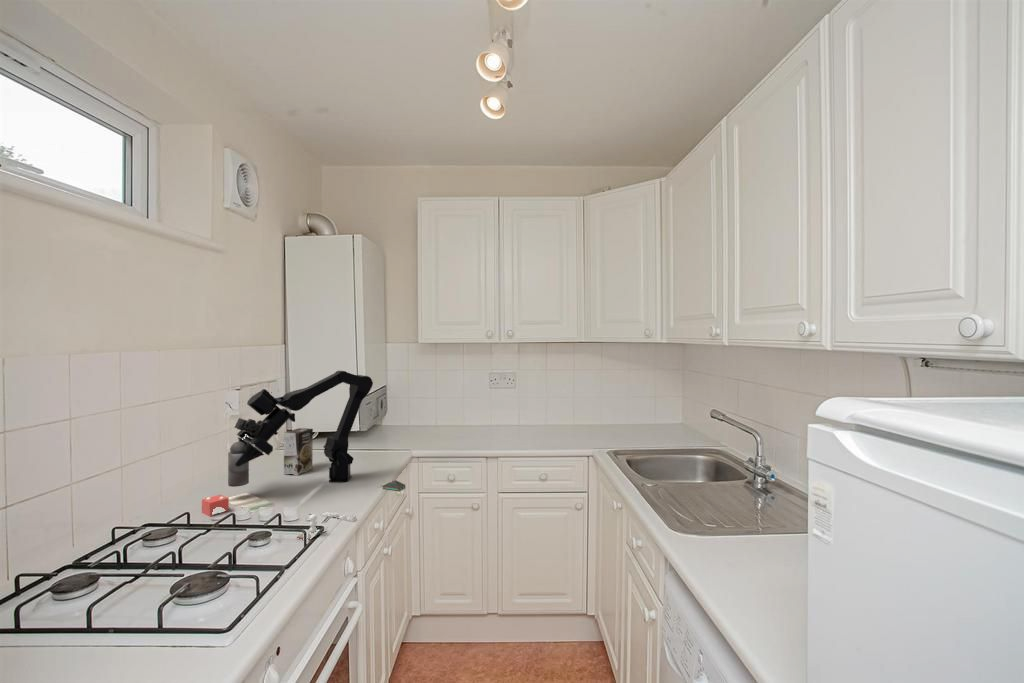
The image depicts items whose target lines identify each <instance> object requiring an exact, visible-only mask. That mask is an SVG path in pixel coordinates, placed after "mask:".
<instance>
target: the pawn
mask: <svg viewBox="0 0 1024 683" xmlns="http://www.w3.org/2000/svg"><path fill="white" fill-rule="evenodd" d="M246 447H247V446H246V444H245V443H243V442H239V441H236V442H233V444H232V445H231V446H230V448H229V452H228V453H227V459H228V460H227V477H228V478H227V485H228V487H236V488H237V487H242V486H246V485H248V484H249V482H250V480H249V478H250V473H249V471H250V470H249V469H250V468H249V466H250V461H249V462H247V463H245V464H243V465H240V466H238V467H237V466H236V465H235V464H236V462H237V461H238V459H239V458H240V457H241V455H242V454H243V453H244V452H245V450H246Z"/></svg>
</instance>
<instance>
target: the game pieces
mask: <svg viewBox="0 0 1024 683" xmlns="http://www.w3.org/2000/svg"><path fill="white" fill-rule="evenodd" d="M376 487H377V488H382V490H387V491H392V492H397V493H398V492H401V491H403V490H406V484H405V483H403V482H400V481H398V480H396V479H392V481H391V482H387V483H385V484H383V485H381V484H380V485H378V486H376ZM323 516H324V517H325V516H332V518H333V517H336V516H338V517H336V518H339V519H340V520H341V521H345V520H346V521H347V522H352V523H354V522H355V521H357V516H356V515H351V516H349V514H343V515H341V514H340V516H339V512H336V511H334V512H330V511H328V512H324V513H322V514H321V517H323ZM317 520H318V516H317V515H316V514H311V515H310V516H309V521H310V522H309V524H308V525H309V529H308V531H310V532H311V533H314V532H316V530H317V528H318V527H317V528H316V526H317V524H318V521H317ZM325 529H326V528H325ZM326 530H327V529H326ZM327 531H328V530H327ZM297 538H299V539H298V540H300V539H302V540H301V541H304V540H303V538H304V537H303V533H302V534H299V535H298V536H296V539H297ZM310 538H311V535H310V534H308V538H307V539H308V540H310ZM310 541H311V540H310Z"/></svg>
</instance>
